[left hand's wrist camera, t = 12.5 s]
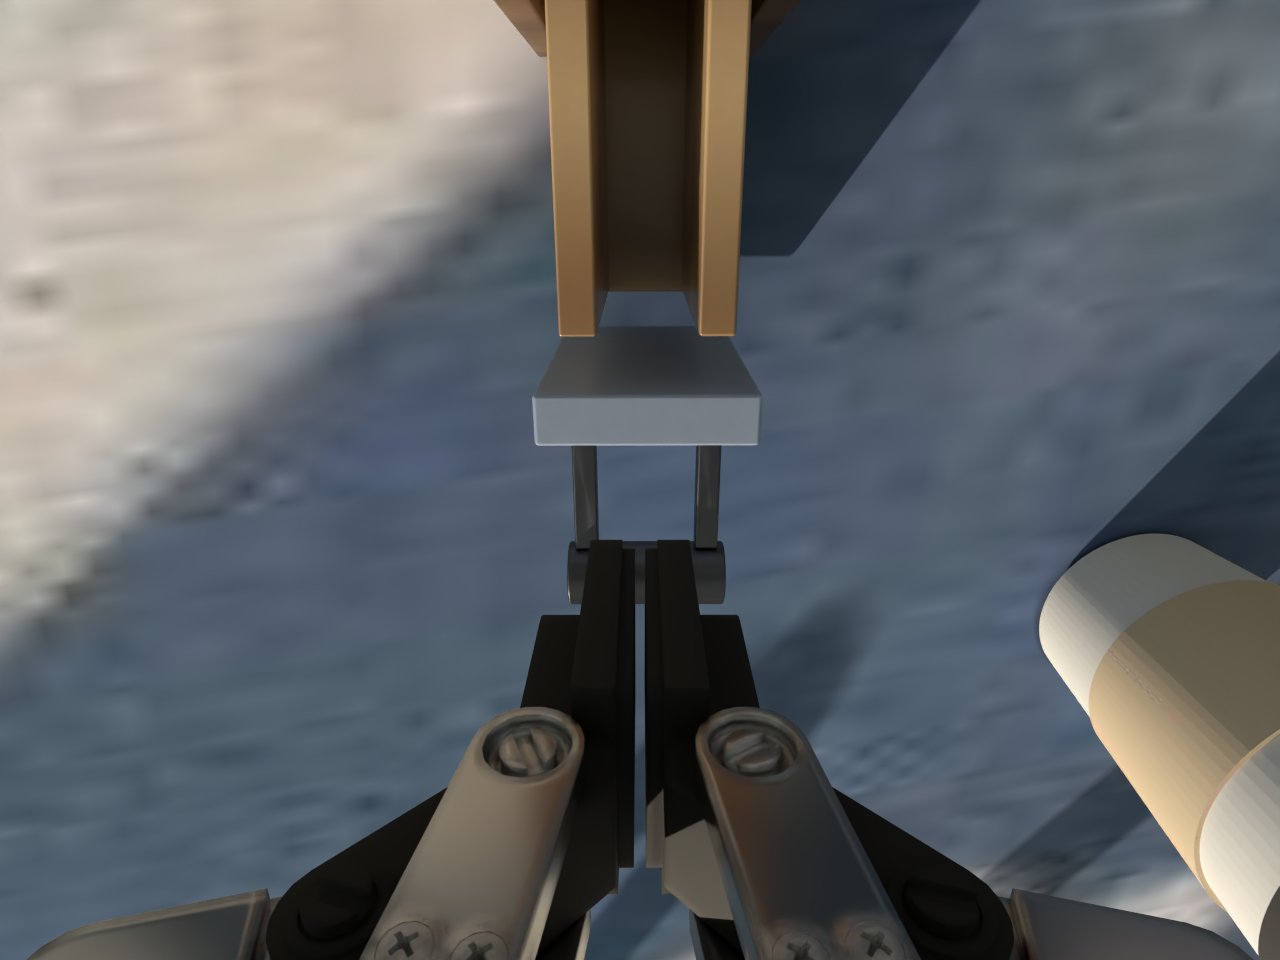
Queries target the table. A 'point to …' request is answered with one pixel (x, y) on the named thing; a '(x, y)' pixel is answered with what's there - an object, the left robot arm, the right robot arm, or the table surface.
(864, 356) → the table surface
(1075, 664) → the coffee cup
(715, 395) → the drawer
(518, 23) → the brown wooden block
